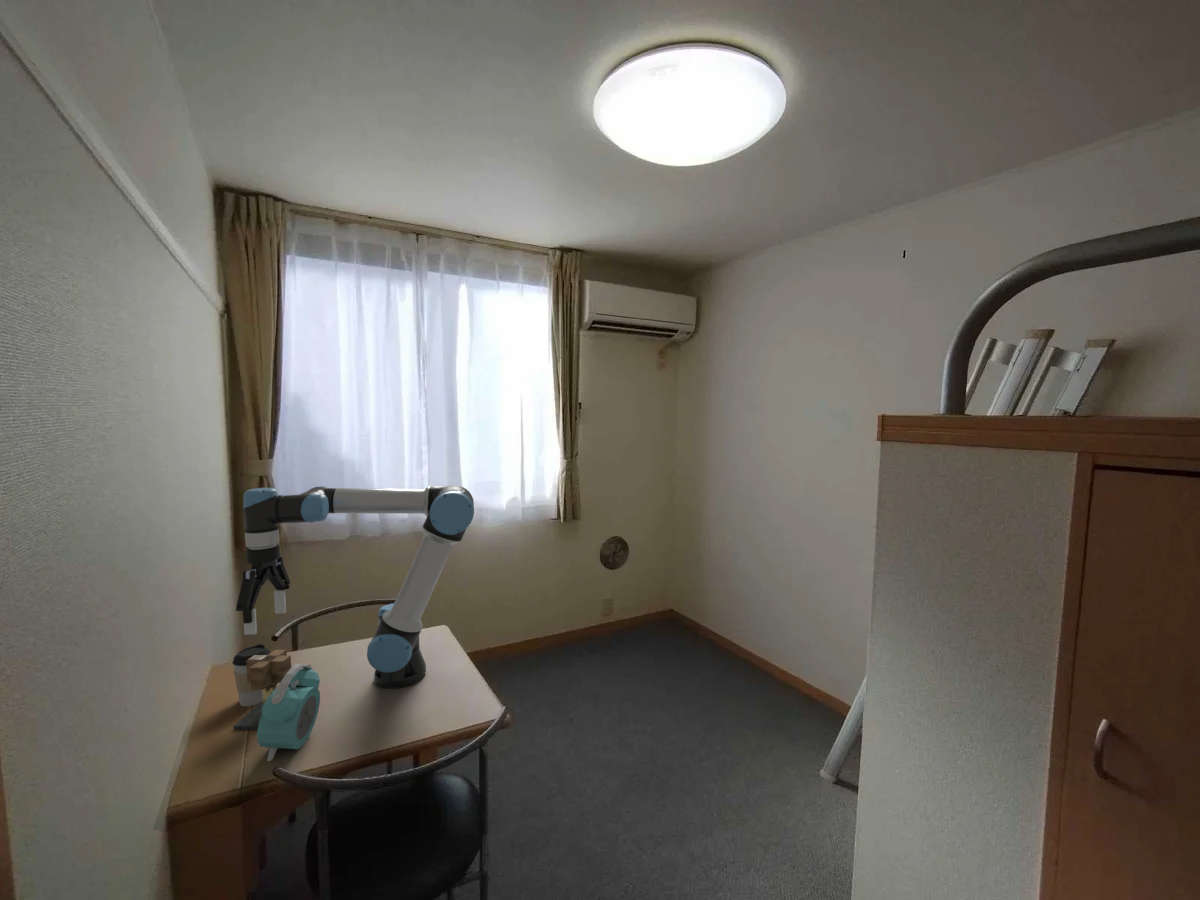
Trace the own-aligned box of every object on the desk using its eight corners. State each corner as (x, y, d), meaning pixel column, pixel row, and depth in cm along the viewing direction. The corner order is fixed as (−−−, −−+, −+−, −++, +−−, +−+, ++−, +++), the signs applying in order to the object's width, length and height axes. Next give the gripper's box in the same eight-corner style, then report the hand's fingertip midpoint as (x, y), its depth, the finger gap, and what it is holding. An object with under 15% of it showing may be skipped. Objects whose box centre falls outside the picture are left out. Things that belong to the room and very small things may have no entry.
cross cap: (299, 673, 140) (298, 648, 140) (275, 693, 130) (274, 666, 130) (264, 673, 140) (263, 648, 140) (238, 693, 131) (236, 666, 130)
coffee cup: (253, 710, 139) (250, 658, 137) (226, 706, 140) (223, 655, 139) (280, 692, 147) (277, 643, 146) (254, 689, 149) (252, 641, 148)
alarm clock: (290, 723, 133) (286, 651, 131) (327, 722, 133) (324, 650, 132) (250, 770, 115) (245, 687, 114) (293, 767, 116) (289, 685, 115)
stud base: (306, 703, 142) (305, 672, 141) (278, 729, 130) (277, 696, 129) (264, 702, 142) (263, 672, 142) (233, 729, 130) (231, 696, 130)
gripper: (274, 534, 145) (278, 605, 146) (215, 559, 120) (220, 644, 122) (301, 534, 145) (304, 604, 147) (247, 559, 121) (252, 643, 122)
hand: (266, 623), depth 134 cm, fingers open, 13 cm apart
